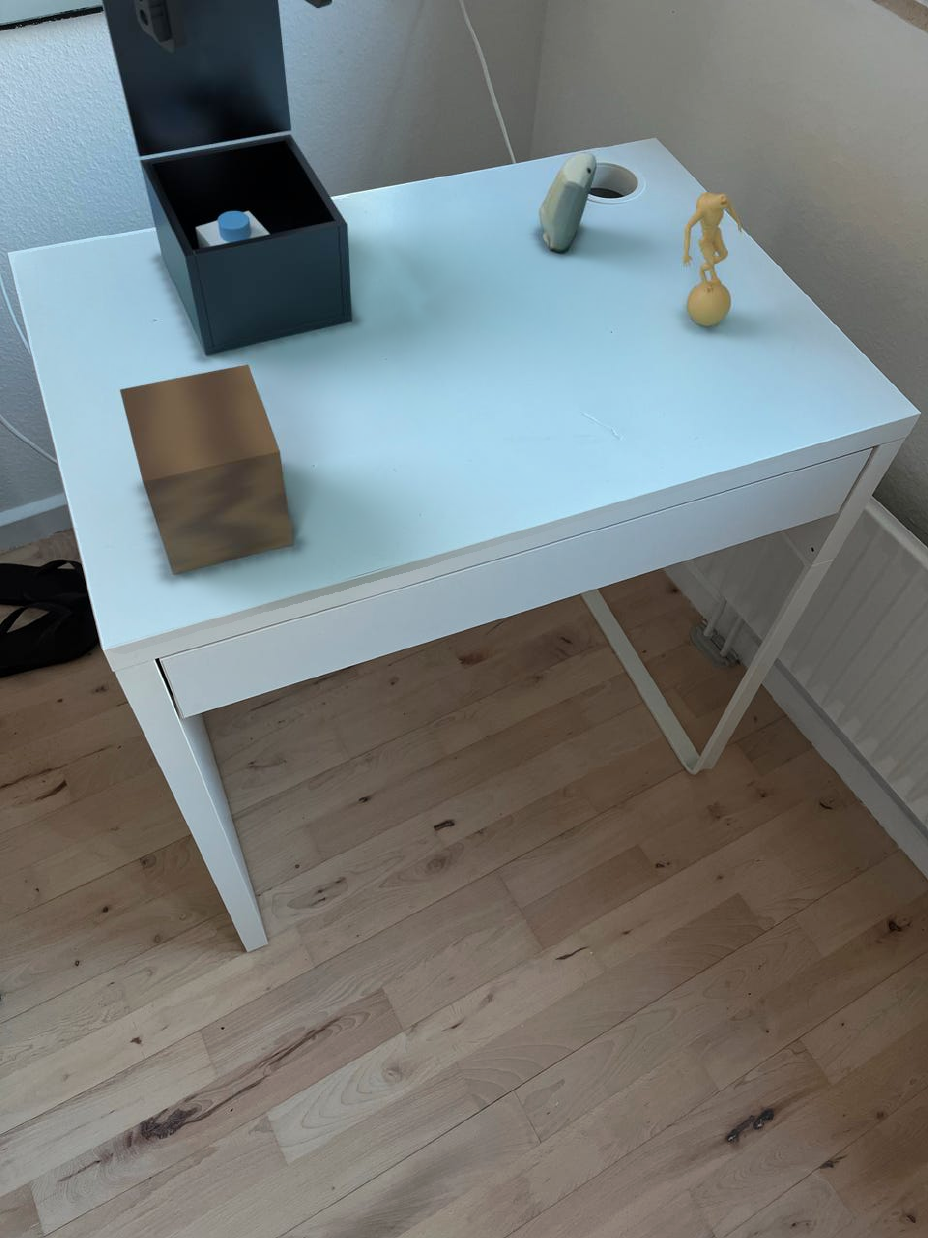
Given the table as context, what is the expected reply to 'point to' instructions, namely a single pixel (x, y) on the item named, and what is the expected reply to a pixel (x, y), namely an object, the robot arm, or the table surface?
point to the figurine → (709, 260)
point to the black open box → (251, 242)
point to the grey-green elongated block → (567, 201)
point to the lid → (202, 75)
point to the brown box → (209, 467)
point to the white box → (229, 229)
